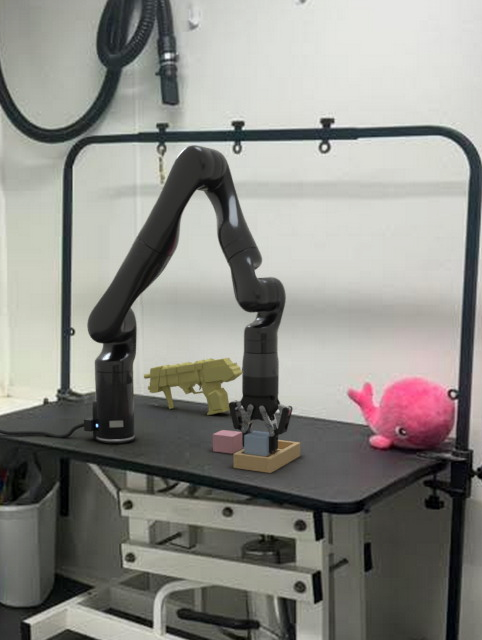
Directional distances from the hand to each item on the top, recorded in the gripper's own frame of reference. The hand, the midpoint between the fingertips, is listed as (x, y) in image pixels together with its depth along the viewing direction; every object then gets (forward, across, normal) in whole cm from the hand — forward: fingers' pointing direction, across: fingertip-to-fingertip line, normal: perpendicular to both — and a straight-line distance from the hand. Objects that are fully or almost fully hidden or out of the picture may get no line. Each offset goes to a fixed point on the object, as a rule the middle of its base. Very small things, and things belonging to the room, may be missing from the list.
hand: (259, 450), depth 200 cm
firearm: (+4, +40, -43) cm, 59 cm away
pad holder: (+3, 0, -4) cm, 5 cm away
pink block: (+3, +12, -9) cm, 15 cm away
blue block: (0, 0, 0) cm, 0 cm away
